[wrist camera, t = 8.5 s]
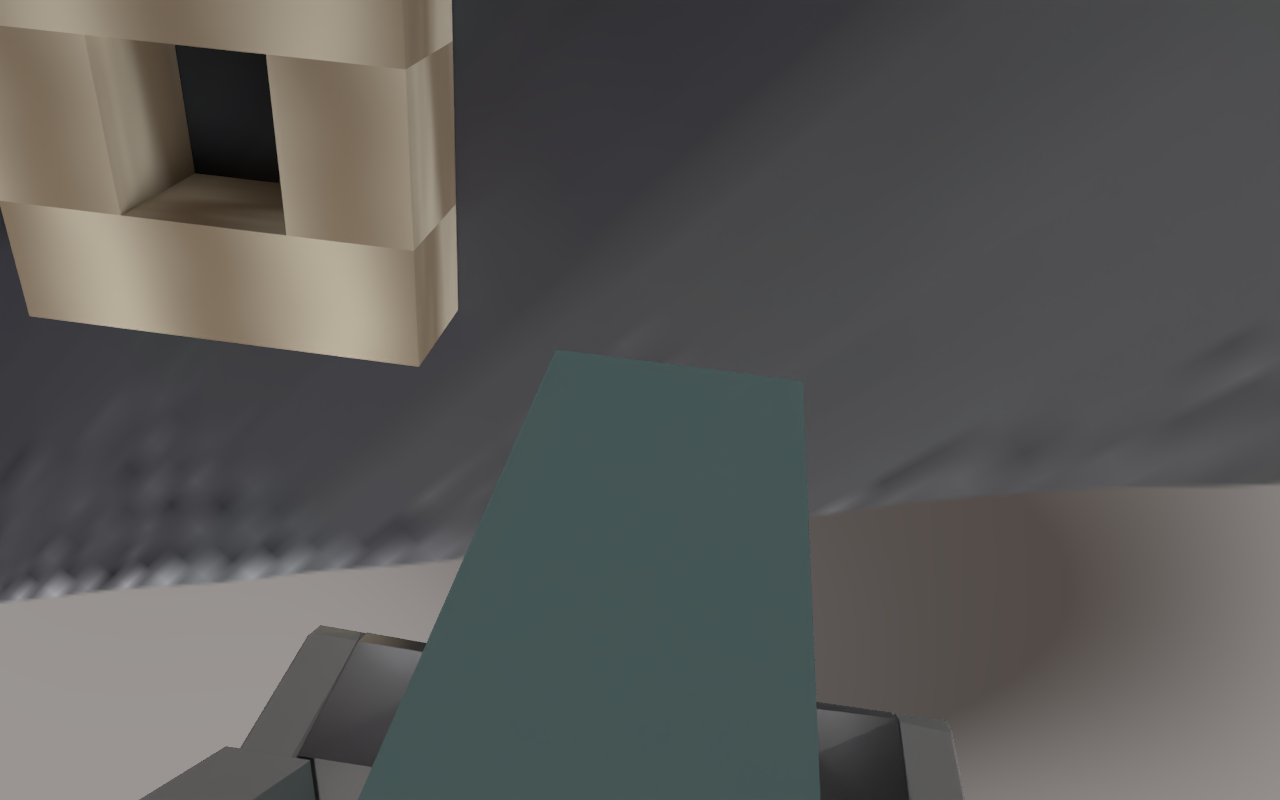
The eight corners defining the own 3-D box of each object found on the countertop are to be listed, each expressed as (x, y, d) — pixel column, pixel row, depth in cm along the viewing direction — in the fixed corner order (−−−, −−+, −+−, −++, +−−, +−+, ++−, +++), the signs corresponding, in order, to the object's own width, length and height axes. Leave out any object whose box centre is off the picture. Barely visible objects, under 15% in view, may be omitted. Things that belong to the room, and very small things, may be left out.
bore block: (449, -102, 26) (398, -93, 22) (458, 309, 32) (418, 366, 28) (20, -143, 26) (-92, -140, 23) (109, 266, 33) (29, 316, 29)
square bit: (803, 381, 13) (845, 1406, 5) (766, 573, 15) (748, 1582, 6) (555, 349, 13) (151, 1266, 5) (548, 543, 15) (242, 1473, 6)
